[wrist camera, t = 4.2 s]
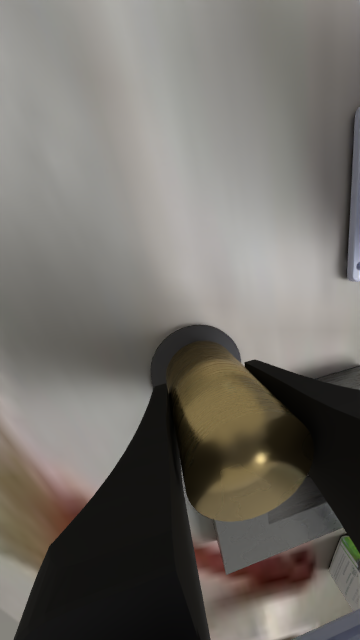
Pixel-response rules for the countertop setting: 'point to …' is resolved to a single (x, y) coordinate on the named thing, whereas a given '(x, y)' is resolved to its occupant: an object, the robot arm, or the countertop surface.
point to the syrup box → (347, 571)
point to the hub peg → (233, 436)
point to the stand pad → (182, 339)
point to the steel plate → (282, 515)
